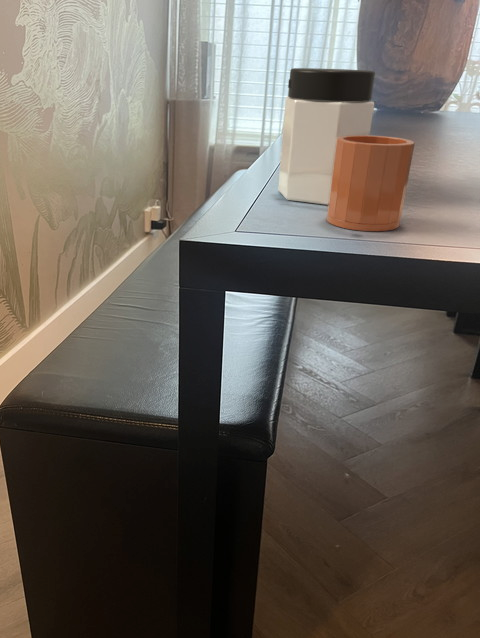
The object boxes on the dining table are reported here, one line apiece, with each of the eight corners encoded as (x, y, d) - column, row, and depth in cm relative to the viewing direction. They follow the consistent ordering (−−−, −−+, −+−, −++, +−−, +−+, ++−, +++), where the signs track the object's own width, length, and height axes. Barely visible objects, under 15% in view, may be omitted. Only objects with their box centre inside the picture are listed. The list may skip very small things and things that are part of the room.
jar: (321, 185, 69) (335, 68, 64) (376, 199, 64) (396, 71, 58) (260, 192, 65) (269, 67, 59) (313, 208, 59) (328, 71, 53)
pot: (375, 212, 58) (388, 134, 55) (413, 229, 53) (429, 144, 49) (314, 215, 57) (324, 135, 53) (346, 233, 51) (359, 145, 48)
